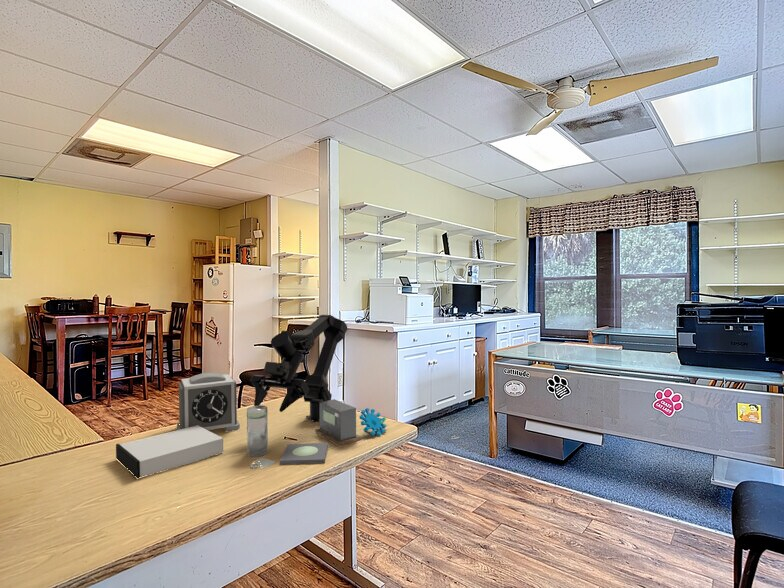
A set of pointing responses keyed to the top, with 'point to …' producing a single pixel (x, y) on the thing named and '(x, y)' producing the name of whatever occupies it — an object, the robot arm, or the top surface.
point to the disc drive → (168, 450)
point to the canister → (257, 431)
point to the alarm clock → (208, 402)
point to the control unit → (337, 422)
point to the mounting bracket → (262, 463)
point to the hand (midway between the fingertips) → (267, 409)
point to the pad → (304, 453)
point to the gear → (372, 421)
